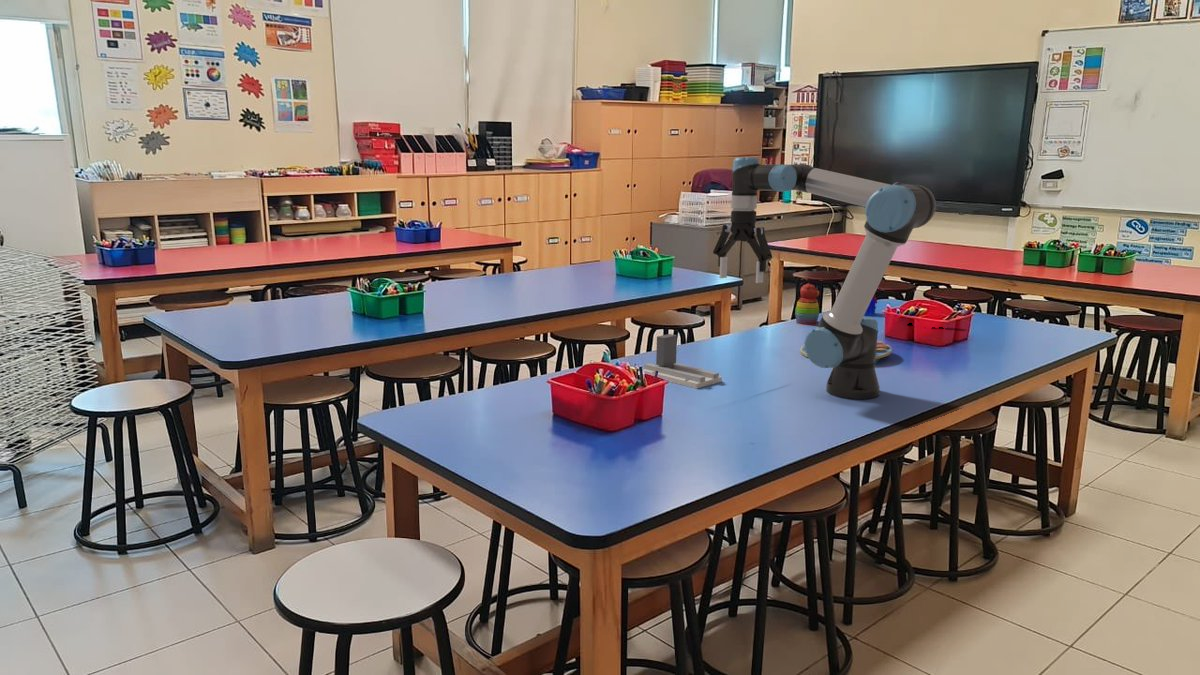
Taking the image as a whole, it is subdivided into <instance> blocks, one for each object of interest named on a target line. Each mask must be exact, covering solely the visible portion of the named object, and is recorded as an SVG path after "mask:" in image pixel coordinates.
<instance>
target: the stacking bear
mask: <svg viewBox="0 0 1200 675" xmlns="http://www.w3.org/2000/svg"><path fill="white" fill-rule="evenodd" d="M799 292H800V297H799V299H798V300H797V302H796V307H795V313H794V315H795V320H796V324H798V325H803V326H808V327H809V326H811V327H817V326H818V319H819V316H820V308H819V306H820V305H819V302H818V299H817V297H819V295H820V291H819V290H818V289H817V288H816V286H815V285H814V284H810V283H809V282H808V283H806V284H803V285H802V286H801V287H800V289H799Z"/></svg>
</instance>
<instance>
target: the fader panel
mask: <svg viewBox="0 0 1200 675" xmlns="http://www.w3.org/2000/svg"><path fill="white" fill-rule="evenodd" d="M642 369H643V371H644V372H645V373H648V374H652V375H654V374H655V371H656V370H657V371H658V376H659V377H661V378H664V379H668V380H669V382H670V383H672V384H675V385H676V384H678V385H681V386H685V387H688V388H693V389H701V388H703V387H708V386H710V385H715V384H718V383H721V382H722V381H723V376H721V375H720V372H717V371H711V370H707V369H702V368H699V367H694V366H690V365H686V364H681V363H679V362H678V363H677V362H676V363H675V364H673V369H672V368H667V367H663V366H659V365H656V363H655V364H653V363H649V362H648V363H644V364H643V368H642ZM719 375H720V376H719Z"/></svg>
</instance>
